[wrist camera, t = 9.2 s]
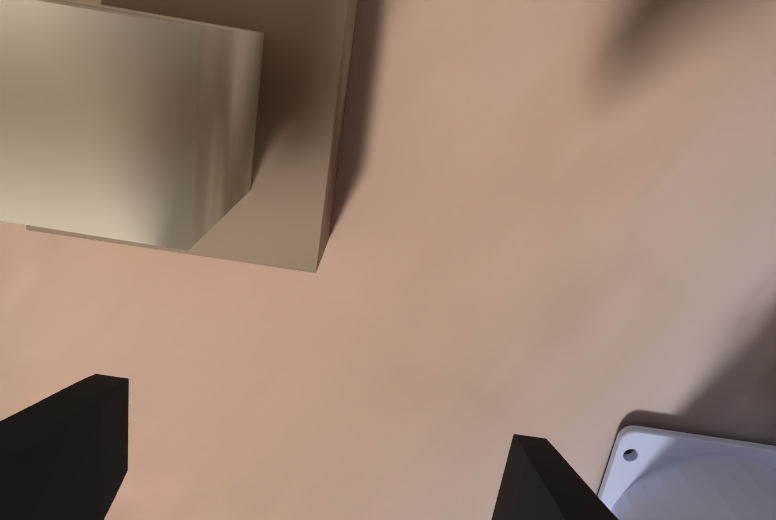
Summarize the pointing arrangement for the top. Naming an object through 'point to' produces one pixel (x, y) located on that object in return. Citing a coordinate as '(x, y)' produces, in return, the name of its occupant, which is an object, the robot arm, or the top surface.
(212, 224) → the maple block
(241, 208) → the tan square slab
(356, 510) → the top surface
